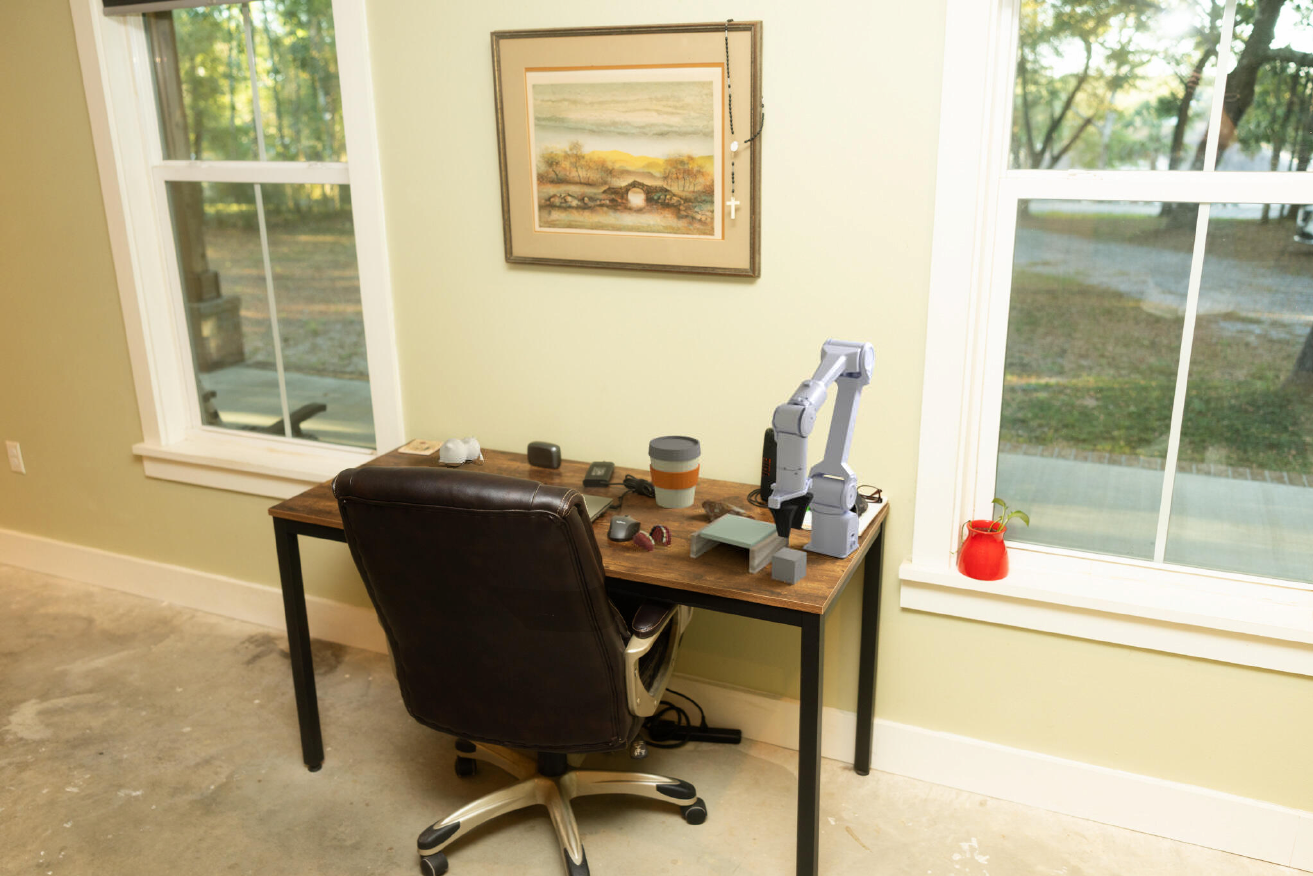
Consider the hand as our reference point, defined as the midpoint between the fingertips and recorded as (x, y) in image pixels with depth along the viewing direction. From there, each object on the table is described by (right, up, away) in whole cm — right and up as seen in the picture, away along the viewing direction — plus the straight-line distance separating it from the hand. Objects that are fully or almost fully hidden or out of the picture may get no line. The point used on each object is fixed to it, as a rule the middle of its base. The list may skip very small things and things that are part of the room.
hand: (789, 532), depth 187 cm
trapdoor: (-9, -1, +13) cm, 16 cm away
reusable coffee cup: (-22, +3, +45) cm, 50 cm away
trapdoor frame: (-9, -6, +14) cm, 18 cm away
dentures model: (-27, -5, +19) cm, 34 cm away
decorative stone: (-9, -1, +32) cm, 33 cm away
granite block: (0, -9, +3) cm, 10 cm away
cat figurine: (-79, +11, +75) cm, 110 cm away
